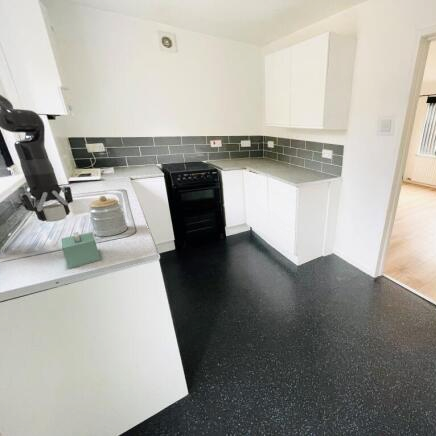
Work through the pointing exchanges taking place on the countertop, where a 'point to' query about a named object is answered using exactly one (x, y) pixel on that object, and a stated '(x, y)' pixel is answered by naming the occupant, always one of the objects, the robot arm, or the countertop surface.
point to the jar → (107, 217)
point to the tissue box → (80, 249)
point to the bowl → (54, 212)
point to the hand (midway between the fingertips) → (55, 217)
